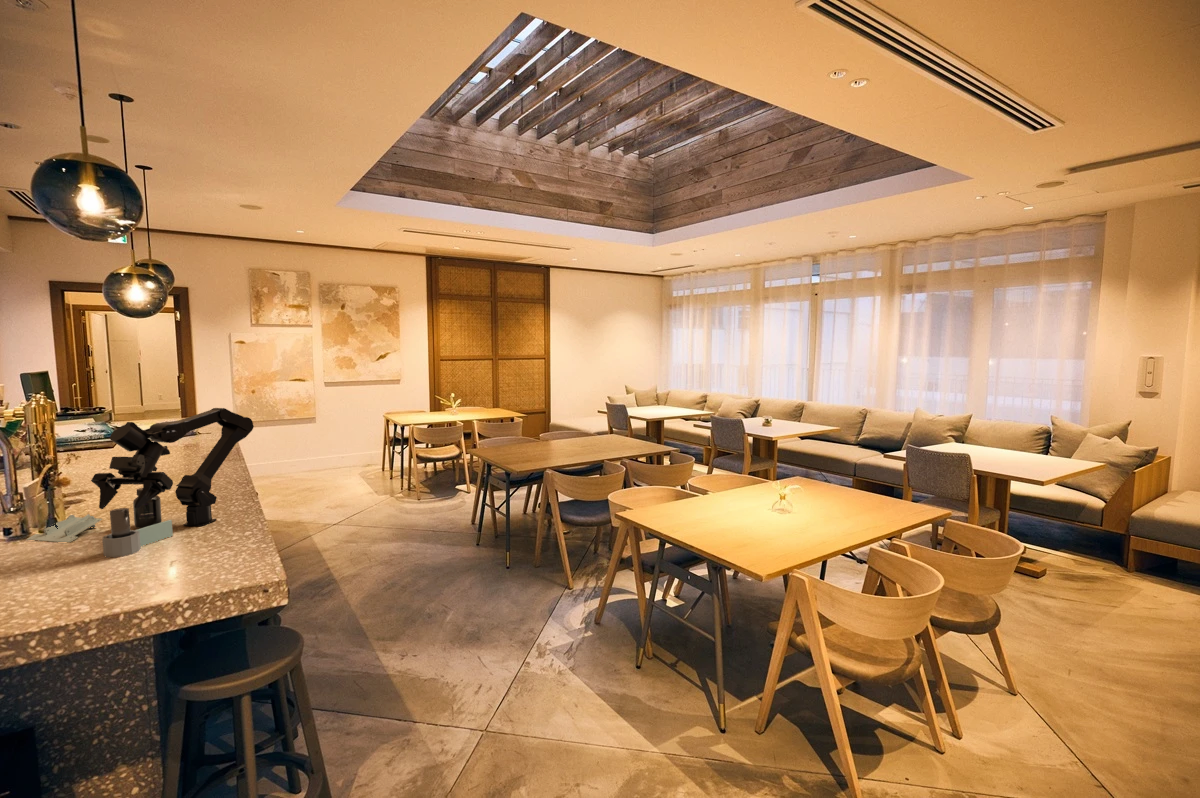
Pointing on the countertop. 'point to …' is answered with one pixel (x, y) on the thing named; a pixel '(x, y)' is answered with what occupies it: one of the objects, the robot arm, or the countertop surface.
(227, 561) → the countertop surface
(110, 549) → the grey forked piece
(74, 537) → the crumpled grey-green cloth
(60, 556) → the countertop surface
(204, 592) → the countertop surface
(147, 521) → the supplement bottle
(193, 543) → the countertop surface
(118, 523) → the hinge pin
